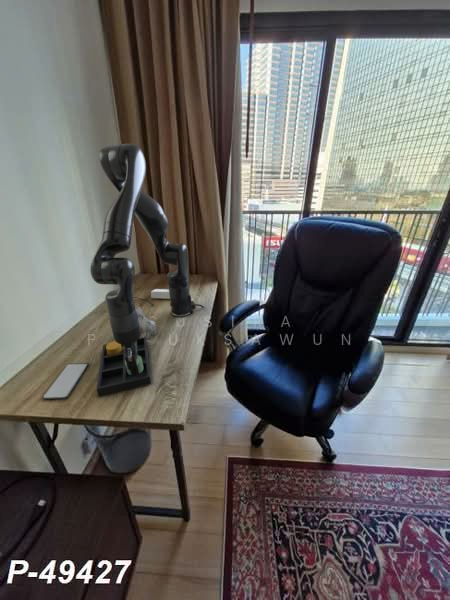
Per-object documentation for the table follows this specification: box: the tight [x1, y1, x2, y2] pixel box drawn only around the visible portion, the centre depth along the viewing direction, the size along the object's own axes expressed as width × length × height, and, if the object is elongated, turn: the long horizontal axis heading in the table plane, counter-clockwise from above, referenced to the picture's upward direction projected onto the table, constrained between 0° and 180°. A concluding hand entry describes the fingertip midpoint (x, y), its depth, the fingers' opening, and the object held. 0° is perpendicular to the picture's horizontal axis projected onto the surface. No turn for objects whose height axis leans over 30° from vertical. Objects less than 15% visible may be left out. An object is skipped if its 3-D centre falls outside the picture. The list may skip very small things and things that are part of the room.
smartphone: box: [42, 362, 89, 400], centre depth 81 cm, size 7×1×15 cm
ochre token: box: [105, 340, 123, 356], centre depth 91 cm, size 5×5×4 cm
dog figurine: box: [135, 306, 157, 340], centre depth 103 cm, size 5×13×11 cm, turn 52°
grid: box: [96, 336, 152, 397], centre depth 87 cm, size 15×23×3 cm
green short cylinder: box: [125, 355, 143, 375], centre depth 80 cm, size 5×5×4 cm
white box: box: [150, 288, 170, 300], centre depth 134 cm, size 13×7×8 cm, turn 85°
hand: (135, 368), depth 81 cm, fingers closed on green short cylinder, 5 cm apart
